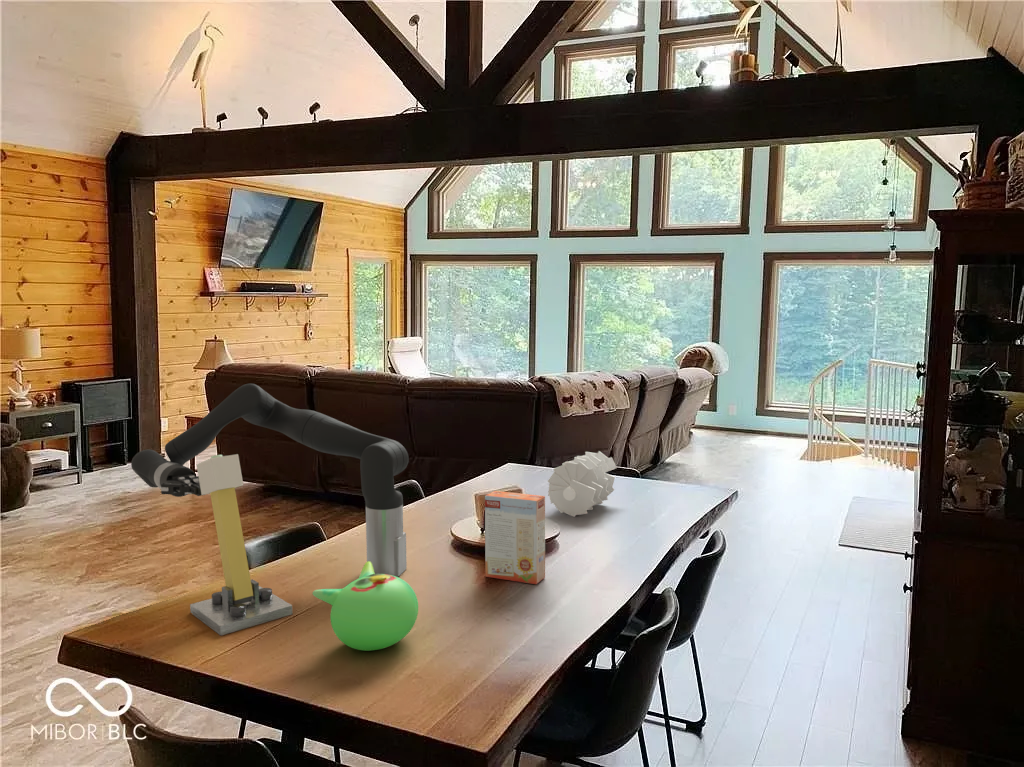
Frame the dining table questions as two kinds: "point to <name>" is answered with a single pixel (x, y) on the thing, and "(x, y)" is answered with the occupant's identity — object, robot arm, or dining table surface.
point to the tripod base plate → (240, 623)
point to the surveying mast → (227, 521)
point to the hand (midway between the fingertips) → (202, 491)
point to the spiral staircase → (581, 483)
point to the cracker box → (515, 536)
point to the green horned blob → (371, 610)
